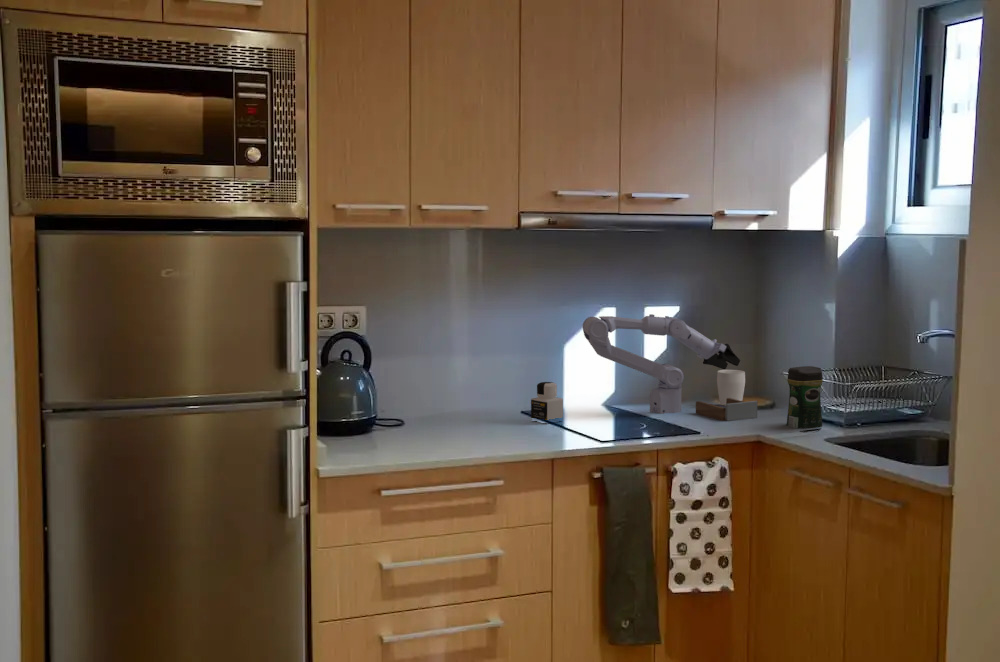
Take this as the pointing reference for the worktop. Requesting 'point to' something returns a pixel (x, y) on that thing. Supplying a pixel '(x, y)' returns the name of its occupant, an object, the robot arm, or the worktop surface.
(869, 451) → the worktop surface
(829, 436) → the worktop surface
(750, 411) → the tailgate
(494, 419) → the worktop surface
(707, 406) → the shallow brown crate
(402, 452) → the worktop surface
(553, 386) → the medicine bottle
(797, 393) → the coffee jar
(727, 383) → the cup
